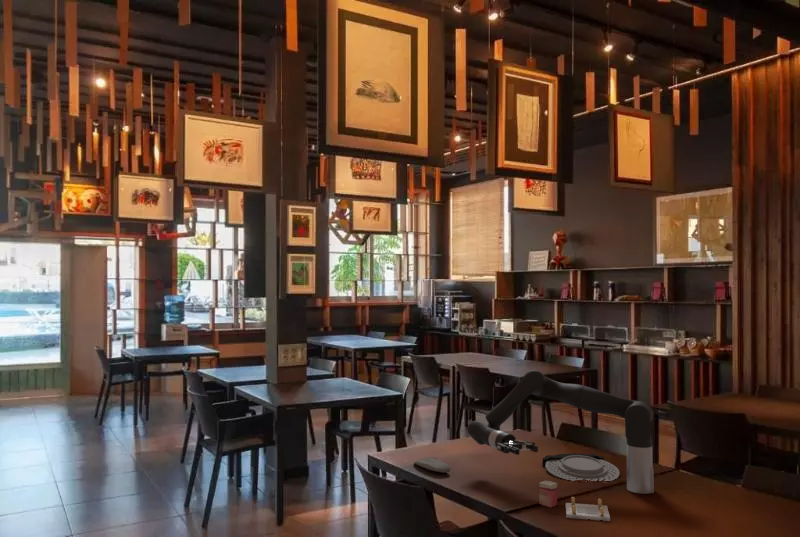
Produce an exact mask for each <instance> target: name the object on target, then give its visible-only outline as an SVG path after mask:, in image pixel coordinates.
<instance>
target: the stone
mask: <svg viewBox="0 0 800 537" xmlns="http://www.w3.org/2000/svg"><path fill="white" fill-rule="evenodd" d="M413 463H414V464H415V465H417V466H419V467H421V468H424V469H426V470H428V471H429V470H430V471H433V472H437V473H449V472H451V466H450V465H449V464H447V463H446V462H444V461H443V460H440V459H439V458H436V457H434V456H429V457H427V456H426V457H424V458H421V459H418V460H416V461H414V462H413Z"/></svg>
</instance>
